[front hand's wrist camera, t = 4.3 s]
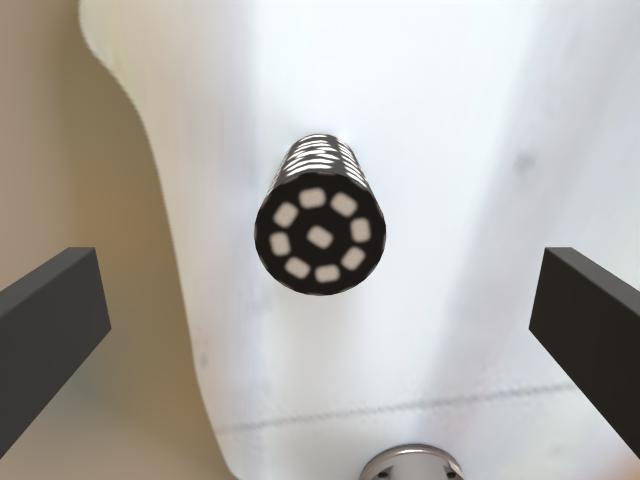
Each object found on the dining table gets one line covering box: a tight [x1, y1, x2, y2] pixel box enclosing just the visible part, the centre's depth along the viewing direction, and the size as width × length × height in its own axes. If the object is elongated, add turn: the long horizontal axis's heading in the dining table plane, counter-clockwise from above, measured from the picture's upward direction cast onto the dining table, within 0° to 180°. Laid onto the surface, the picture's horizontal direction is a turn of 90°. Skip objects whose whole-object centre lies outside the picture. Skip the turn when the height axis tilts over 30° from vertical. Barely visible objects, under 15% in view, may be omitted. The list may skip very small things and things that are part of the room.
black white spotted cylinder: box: [254, 134, 386, 296], centre depth 36 cm, size 8×8×20 cm
